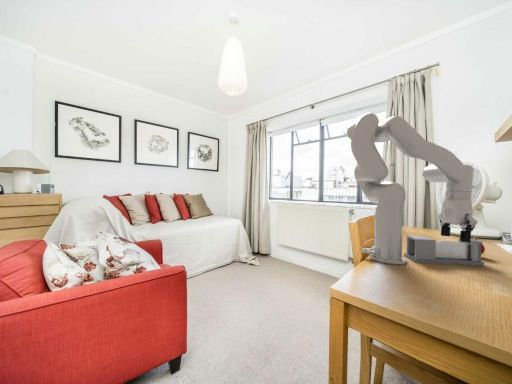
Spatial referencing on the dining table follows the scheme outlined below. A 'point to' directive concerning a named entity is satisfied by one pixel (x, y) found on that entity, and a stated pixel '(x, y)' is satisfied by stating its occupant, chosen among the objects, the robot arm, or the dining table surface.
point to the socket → (475, 250)
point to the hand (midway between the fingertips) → (454, 238)
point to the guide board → (430, 252)
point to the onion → (481, 247)
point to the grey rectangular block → (452, 250)
